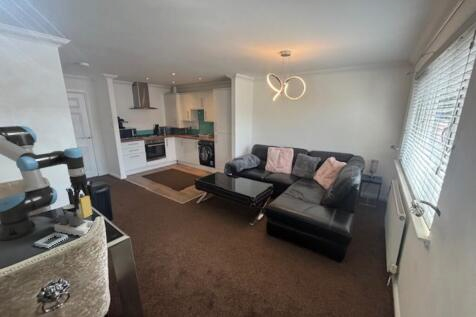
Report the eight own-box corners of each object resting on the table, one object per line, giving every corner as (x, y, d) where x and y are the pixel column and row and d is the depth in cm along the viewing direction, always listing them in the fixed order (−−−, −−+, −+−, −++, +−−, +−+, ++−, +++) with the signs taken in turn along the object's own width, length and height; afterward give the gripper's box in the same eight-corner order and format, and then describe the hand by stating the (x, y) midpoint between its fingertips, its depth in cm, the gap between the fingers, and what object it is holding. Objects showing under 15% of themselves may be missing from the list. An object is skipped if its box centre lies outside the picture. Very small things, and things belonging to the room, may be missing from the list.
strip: (55, 231, 121) (51, 213, 119) (72, 222, 131) (68, 206, 128) (84, 237, 116) (81, 219, 113) (100, 228, 125) (97, 211, 122)
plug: (78, 217, 117) (73, 195, 114) (86, 213, 122) (82, 192, 119) (84, 218, 116) (80, 196, 113) (92, 214, 120) (88, 192, 117)
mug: (66, 224, 129) (63, 210, 127) (63, 219, 135) (61, 206, 132) (88, 217, 138) (86, 204, 136) (85, 213, 144) (82, 200, 141)
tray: (35, 245, 108) (34, 242, 107) (55, 235, 117) (54, 232, 117) (48, 248, 105) (47, 245, 105) (68, 237, 115) (67, 234, 114)
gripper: (65, 180, 104) (73, 219, 109) (97, 171, 121) (102, 205, 126) (55, 179, 105) (63, 218, 111) (87, 170, 123) (93, 204, 128)
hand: (84, 211), depth 118 cm, fingers closed on plug, 5 cm apart
